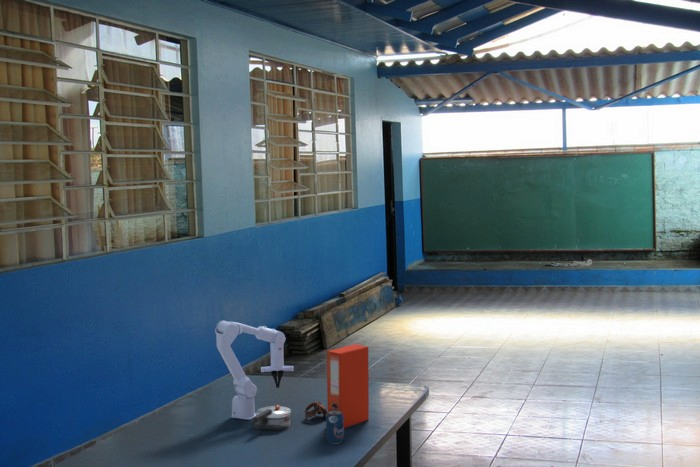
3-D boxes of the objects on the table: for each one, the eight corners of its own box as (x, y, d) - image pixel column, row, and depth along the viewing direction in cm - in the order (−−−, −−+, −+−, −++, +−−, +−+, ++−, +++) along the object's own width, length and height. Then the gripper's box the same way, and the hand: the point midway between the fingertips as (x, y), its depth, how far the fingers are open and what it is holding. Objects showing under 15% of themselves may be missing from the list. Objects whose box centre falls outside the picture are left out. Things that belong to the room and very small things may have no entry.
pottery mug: (329, 423, 358) (320, 408, 356) (310, 431, 360) (300, 416, 358) (331, 408, 370) (322, 393, 367) (312, 416, 372) (303, 402, 369)
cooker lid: (266, 406, 364) (266, 401, 364) (297, 410, 358) (297, 404, 358) (239, 421, 343) (239, 415, 343) (271, 425, 337) (271, 419, 337)
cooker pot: (271, 416, 366) (270, 405, 366) (299, 420, 361) (299, 409, 360) (241, 433, 344) (241, 421, 344) (271, 437, 338) (270, 425, 338)
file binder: (369, 419, 360) (368, 346, 358) (341, 429, 348) (340, 353, 345) (355, 416, 366) (354, 343, 363) (327, 425, 353) (326, 350, 350)
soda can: (337, 445, 328) (337, 415, 327) (323, 442, 332) (322, 413, 331) (347, 440, 334) (346, 411, 333) (332, 437, 338) (332, 408, 337)
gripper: (260, 360, 370) (261, 390, 371) (293, 358, 371) (294, 388, 372) (260, 356, 377) (261, 386, 378) (293, 355, 378) (293, 384, 379)
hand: (277, 387), depth 375 cm, fingers closed
